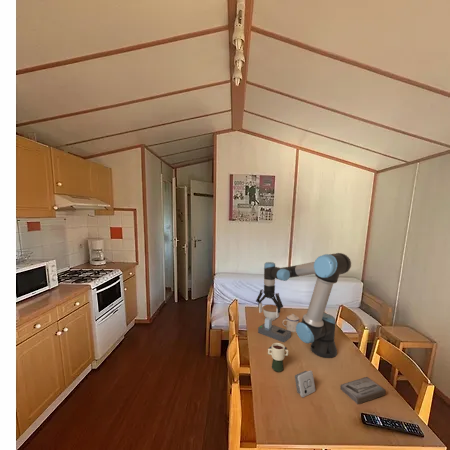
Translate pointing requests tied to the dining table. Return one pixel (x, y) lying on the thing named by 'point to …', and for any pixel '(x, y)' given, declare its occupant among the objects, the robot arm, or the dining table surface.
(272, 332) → the battery charging station
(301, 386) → the electrical switch
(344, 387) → the box
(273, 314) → the lidded bowl
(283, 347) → the character mug
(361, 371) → the dining table surface
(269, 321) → the plug
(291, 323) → the teacup with lid
